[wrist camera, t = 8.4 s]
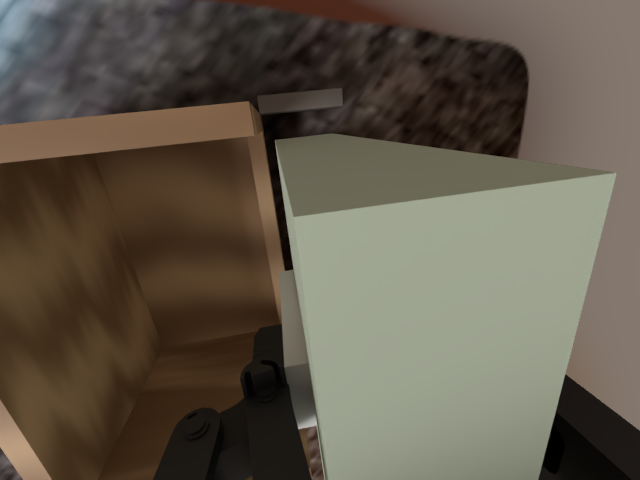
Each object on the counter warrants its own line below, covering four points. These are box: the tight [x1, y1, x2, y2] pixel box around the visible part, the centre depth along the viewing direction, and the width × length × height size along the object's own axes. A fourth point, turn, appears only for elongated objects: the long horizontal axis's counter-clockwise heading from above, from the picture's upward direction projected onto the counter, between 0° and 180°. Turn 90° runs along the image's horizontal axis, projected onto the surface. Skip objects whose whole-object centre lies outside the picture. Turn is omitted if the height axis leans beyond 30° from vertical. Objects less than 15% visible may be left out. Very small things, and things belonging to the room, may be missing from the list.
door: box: [275, 134, 617, 480], centre depth 12 cm, size 15×4×14 cm, turn 6°
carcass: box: [0, 88, 343, 480], centre depth 18 cm, size 20×17×13 cm
